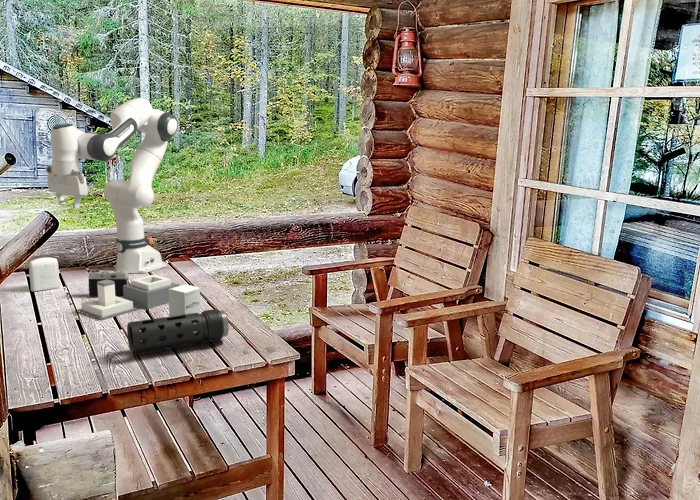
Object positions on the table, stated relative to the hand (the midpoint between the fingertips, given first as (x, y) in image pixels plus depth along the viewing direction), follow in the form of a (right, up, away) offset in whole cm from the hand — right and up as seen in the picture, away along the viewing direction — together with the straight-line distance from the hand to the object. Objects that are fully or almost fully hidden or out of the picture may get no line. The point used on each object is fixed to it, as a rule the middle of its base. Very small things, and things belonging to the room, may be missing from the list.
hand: (69, 206), depth 218 cm
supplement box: (+49, -41, -22) cm, 68 cm away
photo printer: (-14, -31, +10) cm, 36 cm away
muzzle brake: (+53, -46, -41) cm, 81 cm away
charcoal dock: (+30, -35, +1) cm, 46 cm away
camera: (+13, -33, +6) cm, 36 cm away
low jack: (+19, -37, -12) cm, 44 cm away
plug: (+19, -37, -12) cm, 43 cm away
